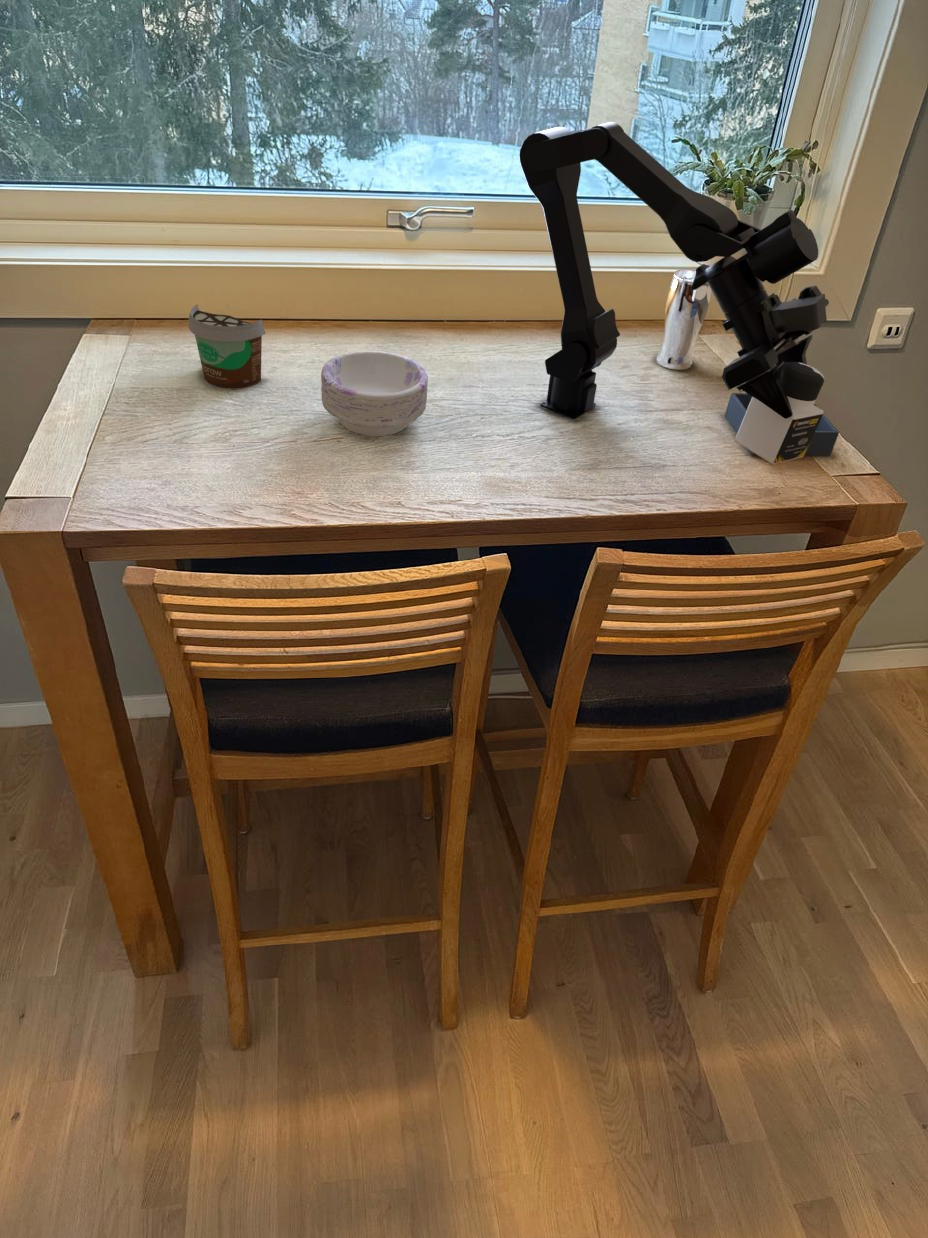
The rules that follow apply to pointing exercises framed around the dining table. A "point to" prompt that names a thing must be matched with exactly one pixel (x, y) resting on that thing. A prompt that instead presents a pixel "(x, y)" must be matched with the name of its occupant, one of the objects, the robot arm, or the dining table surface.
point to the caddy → (820, 440)
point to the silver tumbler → (683, 320)
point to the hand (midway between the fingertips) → (799, 406)
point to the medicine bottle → (776, 433)
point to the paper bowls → (374, 391)
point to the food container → (227, 348)
